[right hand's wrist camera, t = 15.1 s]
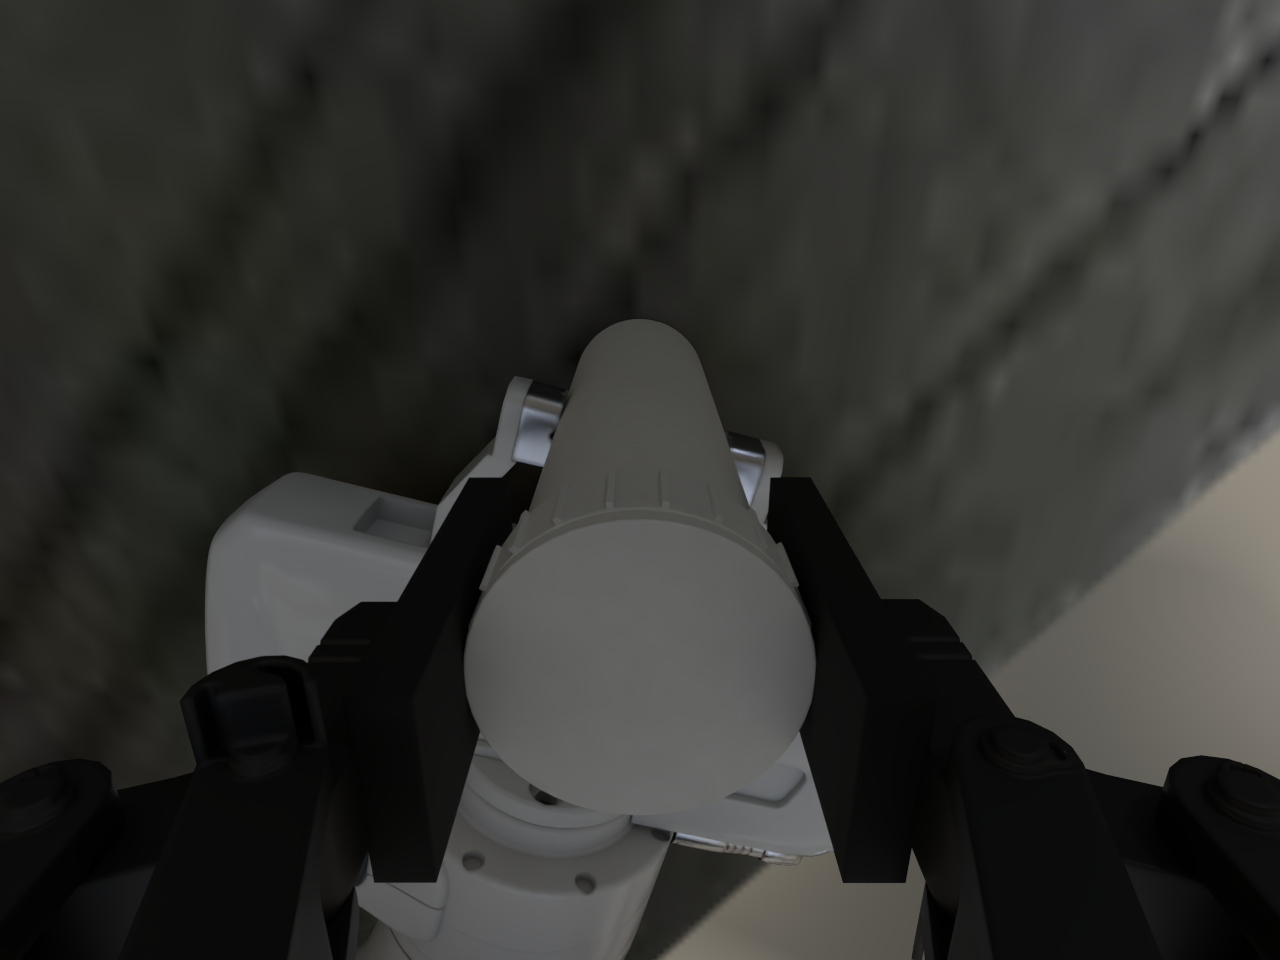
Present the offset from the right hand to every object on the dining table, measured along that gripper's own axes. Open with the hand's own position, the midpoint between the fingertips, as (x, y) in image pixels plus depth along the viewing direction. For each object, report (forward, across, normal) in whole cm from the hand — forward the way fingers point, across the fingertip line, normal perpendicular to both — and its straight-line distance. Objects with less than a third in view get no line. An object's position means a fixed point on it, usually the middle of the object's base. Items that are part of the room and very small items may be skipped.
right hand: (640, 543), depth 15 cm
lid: (-4, 0, 0) cm, 4 cm away
